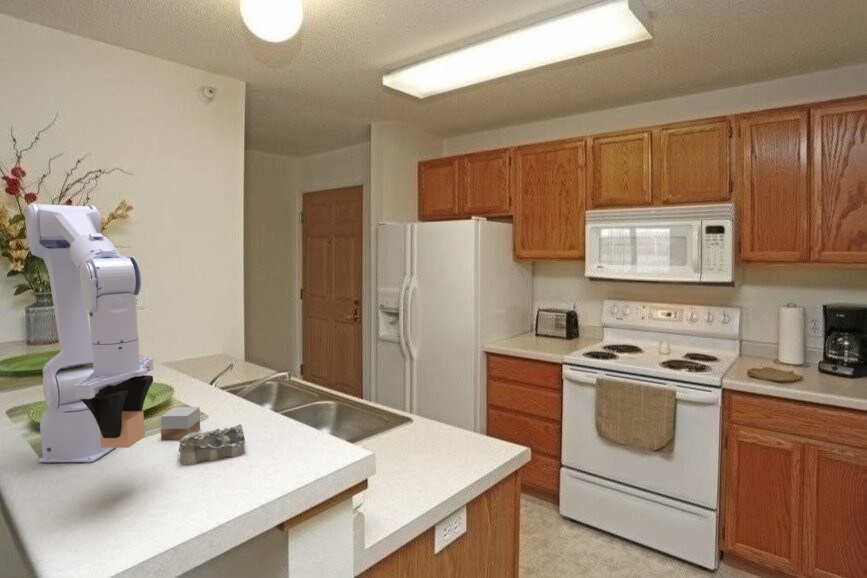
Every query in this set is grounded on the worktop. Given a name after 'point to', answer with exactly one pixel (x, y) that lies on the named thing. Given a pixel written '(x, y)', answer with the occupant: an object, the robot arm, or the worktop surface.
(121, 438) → the terracotta cube
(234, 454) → the egg carton
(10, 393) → the worktop surface
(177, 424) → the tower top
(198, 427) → the tower base
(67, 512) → the worktop surface
